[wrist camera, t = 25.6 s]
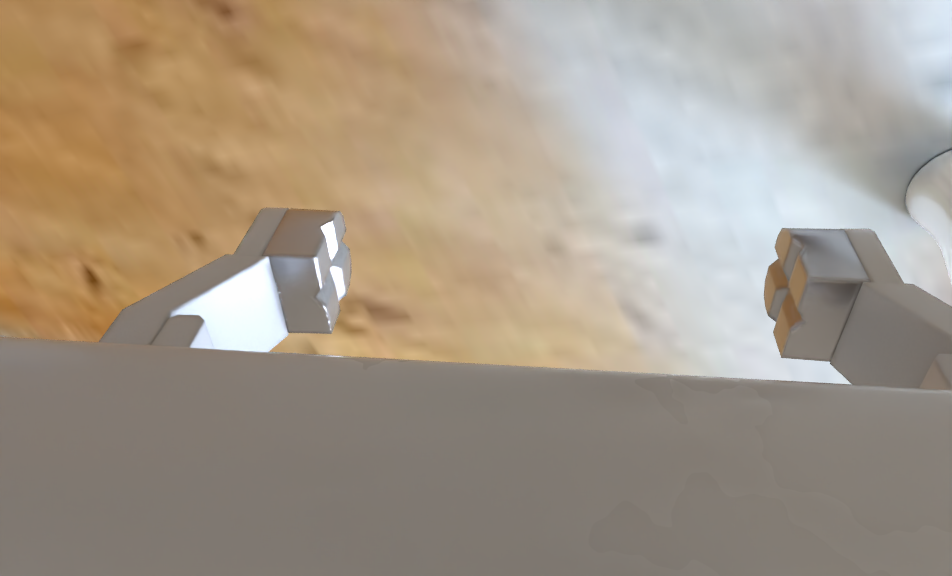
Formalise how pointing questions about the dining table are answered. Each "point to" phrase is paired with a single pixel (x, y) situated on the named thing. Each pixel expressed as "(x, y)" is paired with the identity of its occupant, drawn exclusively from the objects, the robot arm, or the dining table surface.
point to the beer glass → (934, 203)
